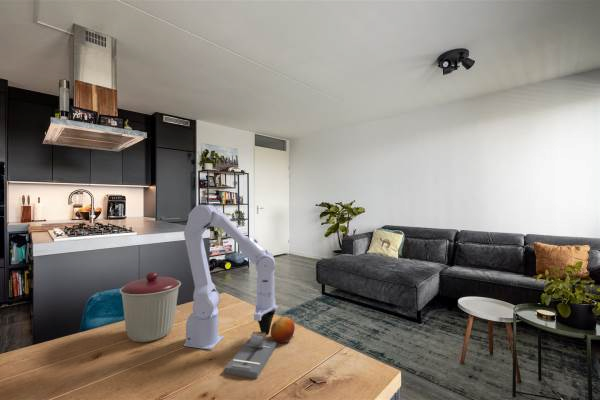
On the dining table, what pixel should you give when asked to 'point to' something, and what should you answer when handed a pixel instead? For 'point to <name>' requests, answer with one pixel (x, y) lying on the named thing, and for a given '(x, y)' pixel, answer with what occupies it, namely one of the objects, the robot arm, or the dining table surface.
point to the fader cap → (258, 339)
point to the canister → (149, 307)
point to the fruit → (282, 329)
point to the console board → (250, 360)
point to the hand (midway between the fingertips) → (265, 334)
